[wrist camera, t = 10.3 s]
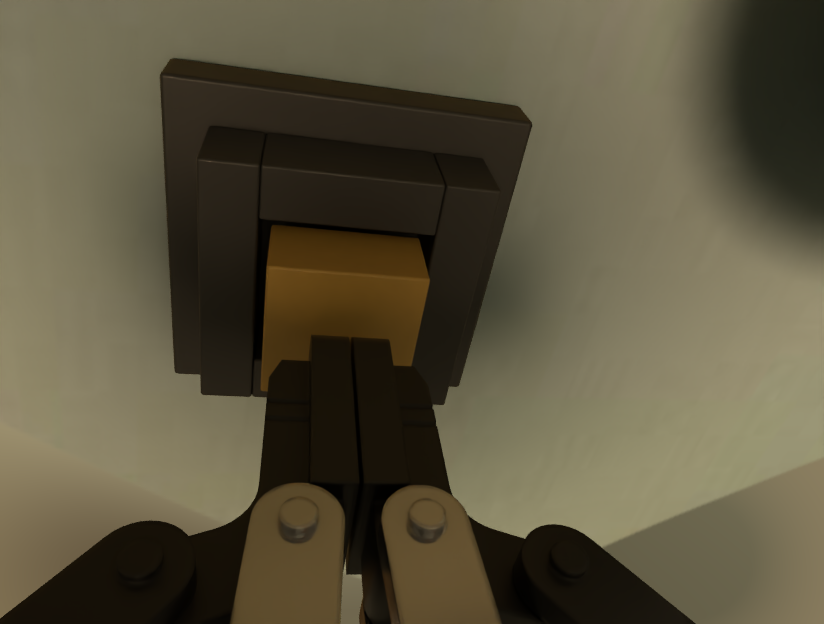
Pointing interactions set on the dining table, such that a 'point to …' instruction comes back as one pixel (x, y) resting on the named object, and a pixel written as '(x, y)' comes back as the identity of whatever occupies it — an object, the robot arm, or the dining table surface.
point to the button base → (325, 202)
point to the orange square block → (340, 292)
